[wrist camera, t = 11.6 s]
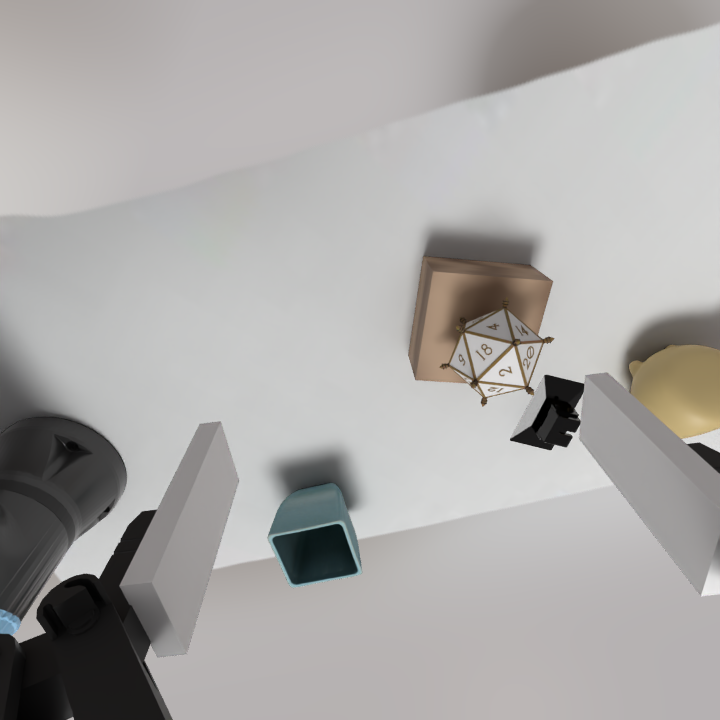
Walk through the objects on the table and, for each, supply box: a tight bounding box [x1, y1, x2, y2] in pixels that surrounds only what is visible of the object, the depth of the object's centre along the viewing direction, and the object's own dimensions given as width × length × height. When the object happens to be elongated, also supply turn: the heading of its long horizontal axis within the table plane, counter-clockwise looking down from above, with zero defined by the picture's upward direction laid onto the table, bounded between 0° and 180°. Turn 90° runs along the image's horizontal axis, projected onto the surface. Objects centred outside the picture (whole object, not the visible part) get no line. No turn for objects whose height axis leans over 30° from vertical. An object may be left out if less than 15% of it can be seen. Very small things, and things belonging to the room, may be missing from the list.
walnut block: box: [408, 256, 553, 383], centre depth 46 cm, size 11×11×6 cm
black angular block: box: [510, 375, 584, 450], centre depth 53 cm, size 12×7×5 cm, turn 164°
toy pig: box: [629, 345, 720, 439], centre depth 47 cm, size 10×12×11 cm
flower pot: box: [268, 483, 362, 587], centre depth 55 cm, size 9×9×9 cm
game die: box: [439, 297, 555, 406], centre depth 40 cm, size 9×8×10 cm
